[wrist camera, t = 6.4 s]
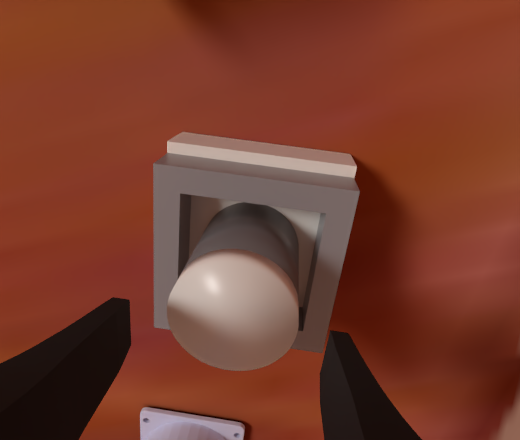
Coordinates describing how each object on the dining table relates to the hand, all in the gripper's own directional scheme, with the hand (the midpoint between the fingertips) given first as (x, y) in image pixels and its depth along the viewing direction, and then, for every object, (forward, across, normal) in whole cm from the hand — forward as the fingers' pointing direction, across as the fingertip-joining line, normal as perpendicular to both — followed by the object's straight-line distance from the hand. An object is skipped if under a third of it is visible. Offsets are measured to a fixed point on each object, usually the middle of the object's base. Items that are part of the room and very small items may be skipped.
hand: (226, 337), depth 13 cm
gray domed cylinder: (+7, 0, 0) cm, 7 cm away
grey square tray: (+9, 0, 0) cm, 9 cm away
